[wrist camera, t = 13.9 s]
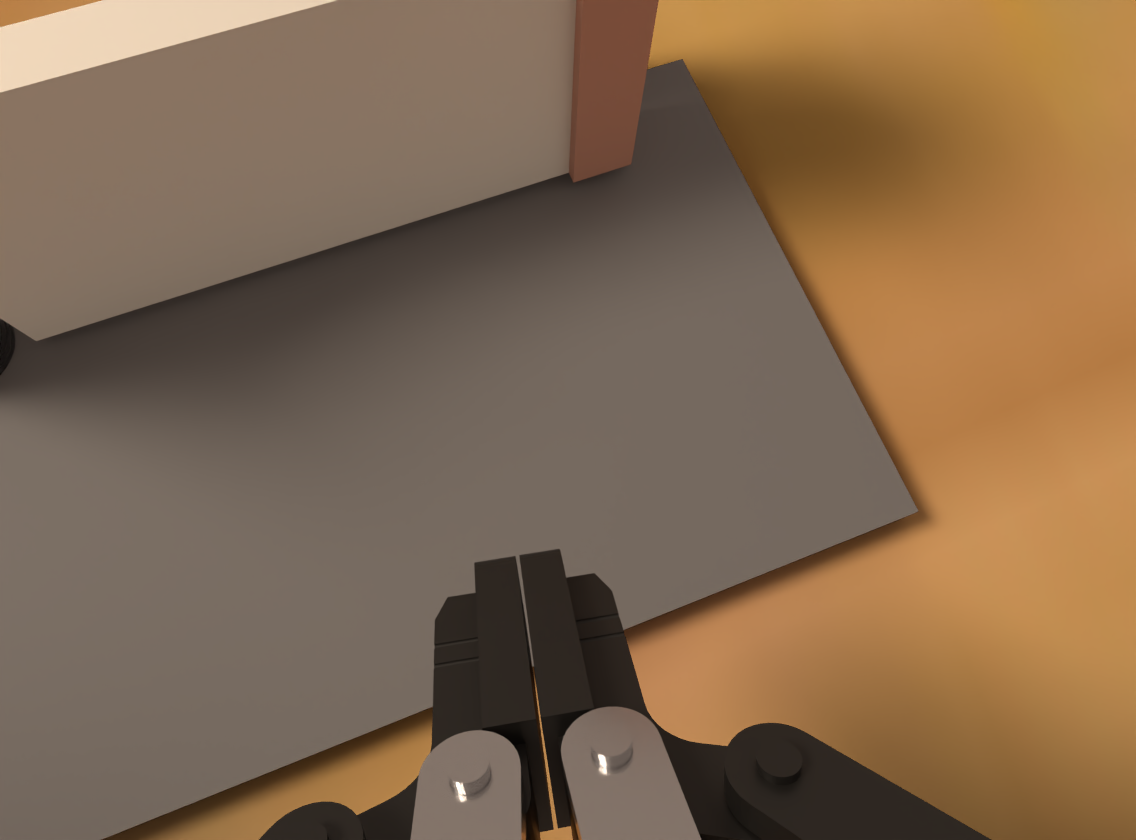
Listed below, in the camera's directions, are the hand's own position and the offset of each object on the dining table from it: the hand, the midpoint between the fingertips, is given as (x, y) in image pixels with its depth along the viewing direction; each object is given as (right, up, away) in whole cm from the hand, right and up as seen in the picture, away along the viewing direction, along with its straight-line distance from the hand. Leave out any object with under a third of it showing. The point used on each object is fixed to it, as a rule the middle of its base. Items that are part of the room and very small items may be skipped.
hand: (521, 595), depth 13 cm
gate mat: (-5, +3, +10) cm, 12 cm away
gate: (-6, +9, +11) cm, 15 cm away
